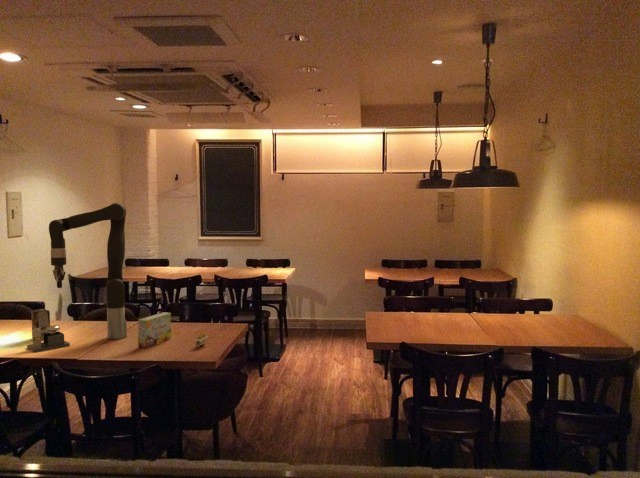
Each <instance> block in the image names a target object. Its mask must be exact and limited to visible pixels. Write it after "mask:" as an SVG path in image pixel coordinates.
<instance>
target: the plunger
mask: <svg viewBox="0 0 640 478" xmlns="http://www.w3.org/2000/svg"><path fill="white" fill-rule="evenodd" d="M57 331H59V332H60V325H50V326H48V327H47V330H42V331H35V333H41V332H50V333H51V335H54V334H56V332H57Z"/></svg>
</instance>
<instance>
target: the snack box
mask: <svg viewBox="0 0 640 478" xmlns="http://www.w3.org/2000/svg"><path fill="white" fill-rule="evenodd" d="M137 321H138V322H137V326H138V327H137V328H138V329H137V330H138V332H137V333H138V334H137V335H138V336H137V337H138V339H137V343H138V344H137V347H138V348H139V349H148V348H151V347H153V346H156V345H158V343H159V344H161V343H164V342H166V341H165V340H167V341H169V340H171V339H172V324H171V323H172V312H167V311H166V312H164V311H163V312H159V313H156V314H153V315H150V316H147V317H143V318H139V319H138V320H137ZM170 338H171V339H170ZM168 339H169V340H168ZM163 341H164V342H163Z"/></svg>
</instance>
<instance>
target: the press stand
mask: <svg viewBox="0 0 640 478" xmlns="http://www.w3.org/2000/svg"><path fill="white" fill-rule="evenodd" d="M35 331H41V328H34V329H33V339H32V343H30V344H27V345H26V349H28V350H30V351H31V350H32V351H31V352H33V353H34V352H35V353H40V352H44V351H45V350H46V351H50V350H57V349H60V348H68V347H70V346H71V343H70V342H68V341H67V340H65V333H63V332H62V331H60V330H59V331H56V334H54V335H51V332H50V333H45V334H43V341H41V333H35ZM35 338H40V340H37V341H36V340H35ZM56 348H57V349H56Z"/></svg>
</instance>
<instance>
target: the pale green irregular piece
mask: <svg viewBox="0 0 640 478" xmlns="http://www.w3.org/2000/svg"><path fill="white" fill-rule="evenodd" d="M207 338H208V335H206V333H205V332H204V333H200V334H198V335H197V337H196V338H194V339H193V341H194V342H195V348H196V347H197V346H198V345H200V344H206V343H205V342H206V339H207Z"/></svg>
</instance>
